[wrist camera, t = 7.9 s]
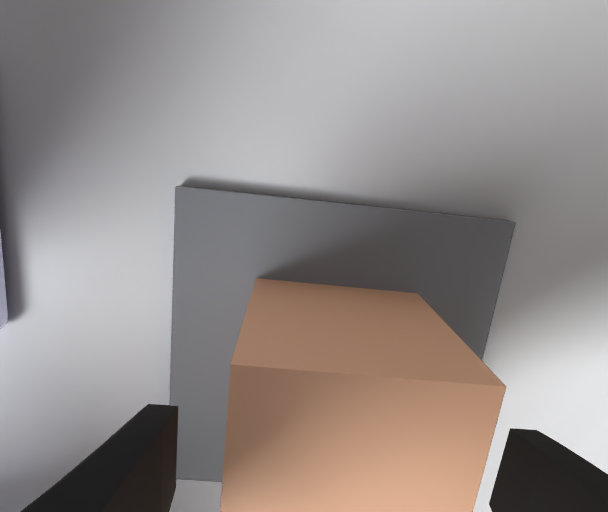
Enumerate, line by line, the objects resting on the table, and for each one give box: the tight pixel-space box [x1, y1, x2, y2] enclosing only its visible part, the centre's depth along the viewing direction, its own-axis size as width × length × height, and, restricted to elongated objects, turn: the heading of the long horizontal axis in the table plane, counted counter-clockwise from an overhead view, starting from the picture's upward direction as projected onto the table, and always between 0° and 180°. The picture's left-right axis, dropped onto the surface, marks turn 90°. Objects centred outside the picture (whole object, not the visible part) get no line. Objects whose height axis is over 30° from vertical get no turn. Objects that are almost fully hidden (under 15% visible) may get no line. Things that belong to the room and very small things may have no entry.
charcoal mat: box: [170, 186, 515, 482], centre depth 12 cm, size 10×10×1 cm
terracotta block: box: [220, 278, 506, 512], centre depth 10 cm, size 5×5×5 cm
